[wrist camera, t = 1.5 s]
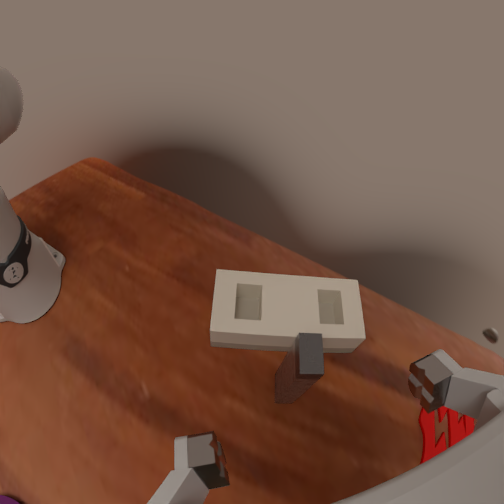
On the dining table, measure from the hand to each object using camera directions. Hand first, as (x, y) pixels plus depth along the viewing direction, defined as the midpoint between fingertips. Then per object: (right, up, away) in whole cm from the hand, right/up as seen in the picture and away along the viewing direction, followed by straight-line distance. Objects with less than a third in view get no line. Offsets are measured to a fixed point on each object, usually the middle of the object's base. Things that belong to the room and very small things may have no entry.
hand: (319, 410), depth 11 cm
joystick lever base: (+2, -5, +40) cm, 40 cm away
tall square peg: (+2, -14, +33) cm, 36 cm away
